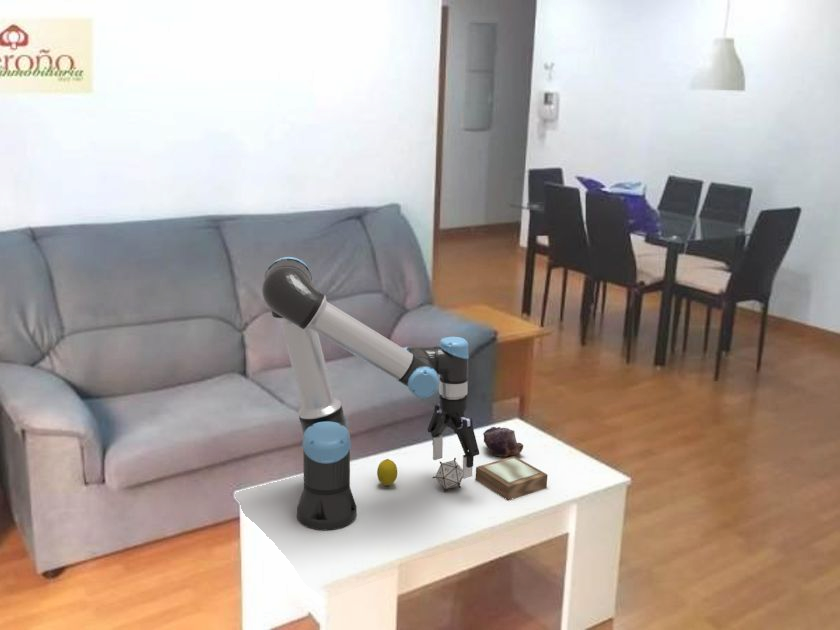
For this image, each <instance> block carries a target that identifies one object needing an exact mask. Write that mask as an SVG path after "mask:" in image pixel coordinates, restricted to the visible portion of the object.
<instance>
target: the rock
mask: <svg viewBox="0 0 840 630" xmlns="http://www.w3.org/2000/svg"><path fill="white" fill-rule="evenodd" d="M515 433H516V432H515V430H513V429H509V428H508V427H501V426H498V427H496V426H492V427H490V428H487V429H486V430H485V431H484V432H483V433H482V434H483V442H484V444H485V445H486V447H487V449H488V451H489V453H490V454H491V455H493V456H496V457H502V458H503V457H504V458H505V457H506V458H508V456H515V455H520V453H522V451H523V450H524V444H523V443H522V442H518V441H517V437H516V434H515Z"/></svg>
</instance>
